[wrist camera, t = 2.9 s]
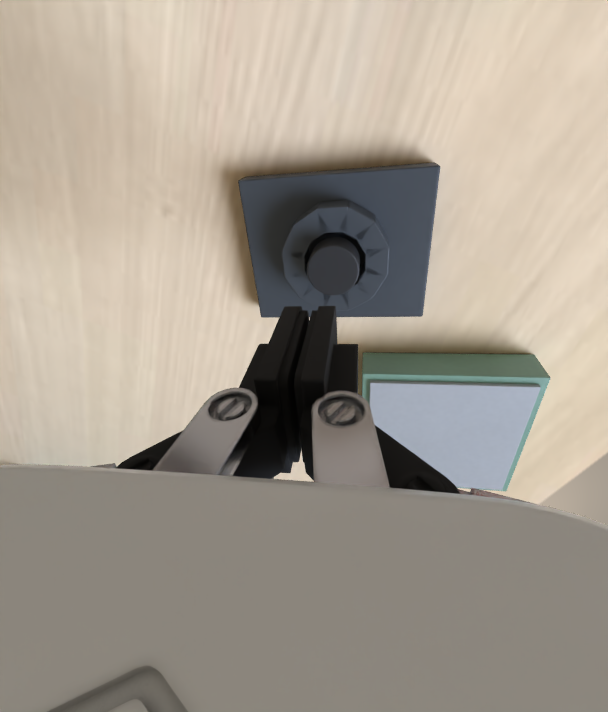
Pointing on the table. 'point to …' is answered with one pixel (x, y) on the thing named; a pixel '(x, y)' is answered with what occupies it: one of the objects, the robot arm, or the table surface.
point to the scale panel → (343, 236)
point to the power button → (334, 266)
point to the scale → (457, 409)
